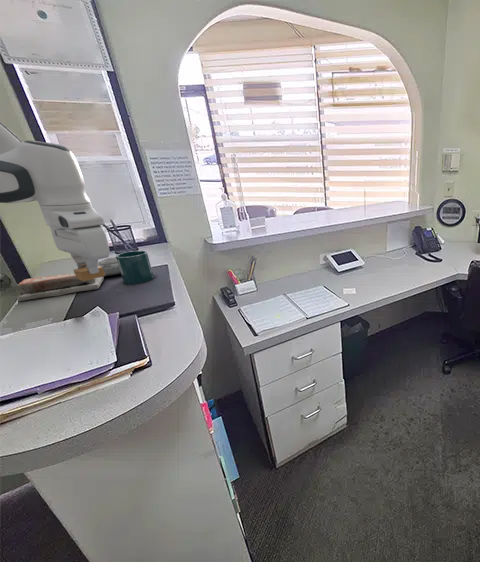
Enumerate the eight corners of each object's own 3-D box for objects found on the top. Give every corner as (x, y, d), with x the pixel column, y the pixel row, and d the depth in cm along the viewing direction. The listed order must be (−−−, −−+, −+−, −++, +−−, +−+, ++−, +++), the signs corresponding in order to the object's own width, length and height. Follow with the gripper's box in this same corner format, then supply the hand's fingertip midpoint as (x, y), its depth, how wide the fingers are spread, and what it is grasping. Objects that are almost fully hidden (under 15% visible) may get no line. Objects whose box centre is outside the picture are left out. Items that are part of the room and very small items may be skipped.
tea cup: (131, 285, 99) (123, 258, 96) (119, 281, 103) (110, 255, 99) (158, 277, 106) (151, 252, 103) (145, 274, 109) (138, 249, 106)
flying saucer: (119, 279, 104) (114, 264, 102) (76, 279, 105) (70, 264, 103) (150, 265, 118) (146, 252, 116) (112, 265, 119) (107, 252, 117)
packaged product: (10, 286, 86) (23, 276, 93) (17, 302, 87) (30, 291, 95) (94, 274, 94) (100, 266, 102) (99, 289, 96) (104, 280, 104)
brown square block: (83, 281, 76) (80, 272, 75) (76, 278, 78) (73, 269, 77) (105, 276, 80) (102, 267, 79) (98, 273, 81) (95, 264, 81)
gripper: (35, 214, 75) (55, 268, 80) (71, 221, 66) (92, 282, 71) (68, 211, 80) (85, 262, 85) (106, 217, 71) (123, 274, 76)
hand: (89, 271), depth 78 cm, fingers closed on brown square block, 4 cm apart
